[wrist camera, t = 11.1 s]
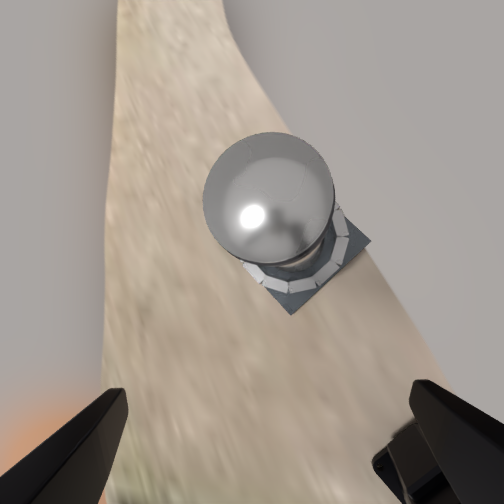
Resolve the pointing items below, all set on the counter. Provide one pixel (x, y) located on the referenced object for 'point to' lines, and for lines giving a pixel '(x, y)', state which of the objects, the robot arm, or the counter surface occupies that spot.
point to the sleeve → (313, 278)
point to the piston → (270, 201)
